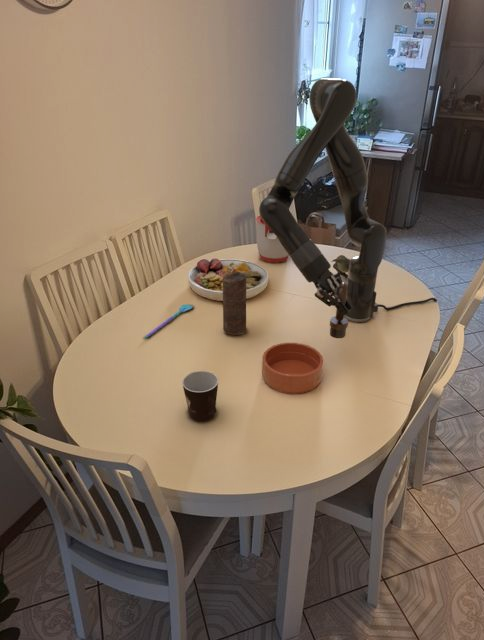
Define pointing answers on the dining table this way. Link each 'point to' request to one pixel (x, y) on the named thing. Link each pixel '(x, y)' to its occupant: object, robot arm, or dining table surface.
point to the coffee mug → (201, 394)
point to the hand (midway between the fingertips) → (347, 311)
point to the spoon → (181, 309)
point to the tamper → (339, 316)
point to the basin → (292, 367)
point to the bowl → (210, 275)
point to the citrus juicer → (269, 244)
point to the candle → (234, 303)
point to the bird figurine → (341, 265)
